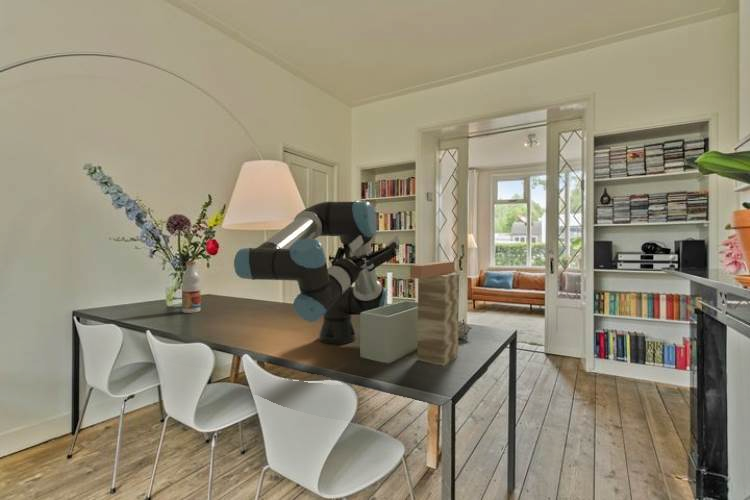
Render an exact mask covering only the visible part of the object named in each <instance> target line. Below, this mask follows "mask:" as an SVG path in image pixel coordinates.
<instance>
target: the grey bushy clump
mask: <svg viewBox="0 0 750 500" xmlns="http://www.w3.org/2000/svg"><path fill="white" fill-rule="evenodd" d="M471 329H473V327H471V326H469V325H468V324H467V323H466V322H465V319H464V318H463V319H462V320H458V339H466V340H468V334H469V332H470V330H471Z"/></svg>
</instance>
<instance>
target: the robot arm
mask: <svg viewBox="0 0 750 500" xmlns="http://www.w3.org/2000/svg"><path fill="white" fill-rule="evenodd" d="M377 225H378V223H377V214H376V211H375V208H374V206H373V205H372V204H371V203H370V202H369V201H361V200H355V201H324V202H319V203H316V204H313V205H311V206H308V207H307V208H304V209H303V210H301V211H300V212H298V213H297V214H296V215H295V216H294V218H293V221H291V222H290V223H289V224H287V225H286V226H284V227H283V228H282V229H281V230H279V231H278V232H276V233H275V234H273V235H272V236H271V237H270V238H268V239H267V240H265V241H264V242H263V243H261V244H260V245H259V246H257V247H254V248H253V247H246V248H241V249H239V250H238V251H237V252H236V254H235V256H234V259H233V267H234V271H235V274H236V275H237V277H239V278H241V279H244V280H252V281H255V280H256V281H258V280H261V281H262V280H264V281H267V280H268V281H270V280H271V281H296V282H297V284H298V287H299V291H300V292H299V293H298V295H296V297H295V298H294V300H293V303H292V306H293V309H294V311H295V313H296V314H297V315H298V316H299V317H300V318H301V319H303V320H304V321H307V322H311V323H313V322H316V321H318V319H320V318H321V317H322V316H323V322H322V325H321V328H320V332H319V337H318V339H319V341H320V342H322V343H325V344H328V345H329V344H330V345H331V344H332V345H342V344H348V343H352V342H355V340H356V331H355V328H354V325H353V322H352V316H360V313H361V312H364V311H368V310H372V309H375V308H379V307H383V306H386V305H387V299H388V288H387V287H383V286H382V284H381V282H380V281H378V280H377V274H376V268H377V267H379V266H381V265H383V264H384V263H387V262H388V261H390V260H392V259H394V258H395V257H397V252H396V249H397V248H398V245H400V244H401V242H400V237H399V235H398V234H395V235H394V236H392V238H391V239H390V240H389V241H388V242H387V243H386V244H385V246H384V247H383V248H380V249H378V250H375V251H373V252H372V245H371V241H372V239H373V238H374V237H375V235H376V234H377V228H378V226H377ZM319 237H339V241H340V243H341V244H342V245H343V247H342V246H340V247H338V248H337V250H336V254H335V255H334V258H333V260H331V262H330V263H331V266H330V267H328V264H327V263H328V262H327V256H326V254H325V251H324V248H323V244H322V243H321V242H320V240H318V239H317V238H319ZM353 284H354V286H353Z"/></svg>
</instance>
